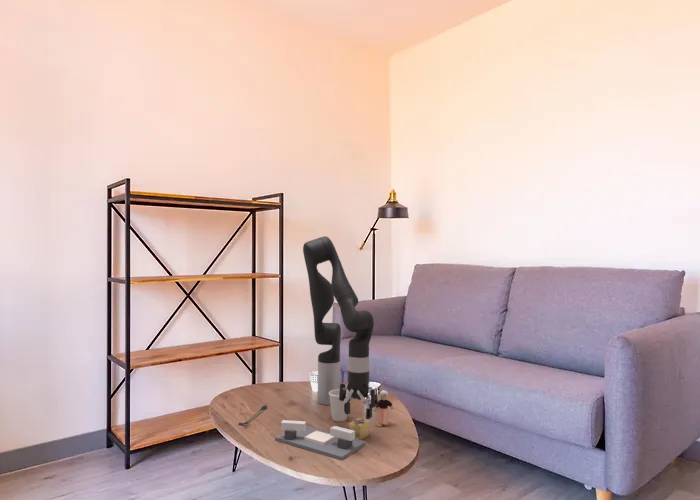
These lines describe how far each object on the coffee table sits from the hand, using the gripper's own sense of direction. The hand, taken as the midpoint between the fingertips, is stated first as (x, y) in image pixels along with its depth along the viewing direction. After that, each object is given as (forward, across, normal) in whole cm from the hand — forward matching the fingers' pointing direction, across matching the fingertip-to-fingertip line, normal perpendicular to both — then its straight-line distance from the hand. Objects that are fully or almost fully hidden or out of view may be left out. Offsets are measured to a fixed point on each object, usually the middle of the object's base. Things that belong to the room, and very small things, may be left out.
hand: (357, 416), depth 162 cm
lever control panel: (+7, +8, +11) cm, 15 cm away
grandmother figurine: (+7, -2, -15) cm, 16 cm away
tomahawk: (+8, +42, +6) cm, 43 cm away
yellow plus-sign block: (+7, 0, -1) cm, 7 cm away
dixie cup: (+7, +15, -10) cm, 20 cm away
